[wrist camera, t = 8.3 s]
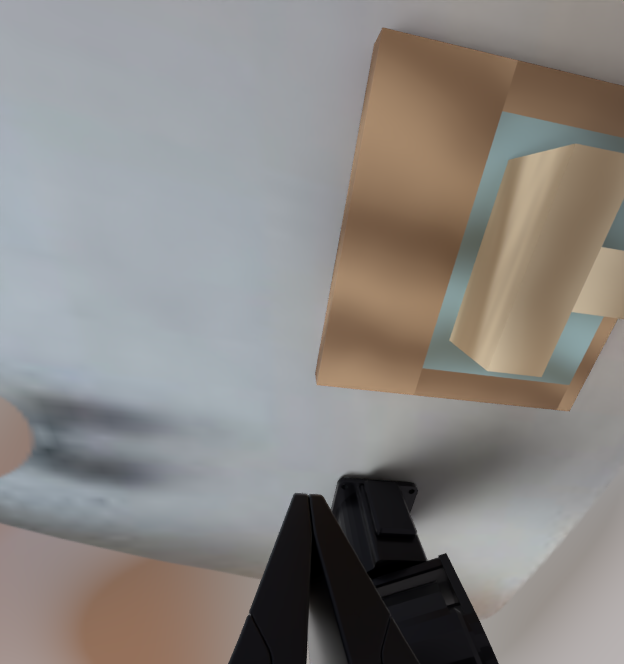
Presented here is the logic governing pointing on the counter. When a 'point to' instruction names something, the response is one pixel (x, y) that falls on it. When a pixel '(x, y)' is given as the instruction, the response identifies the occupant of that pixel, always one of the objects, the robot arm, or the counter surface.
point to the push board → (450, 217)
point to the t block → (543, 258)
